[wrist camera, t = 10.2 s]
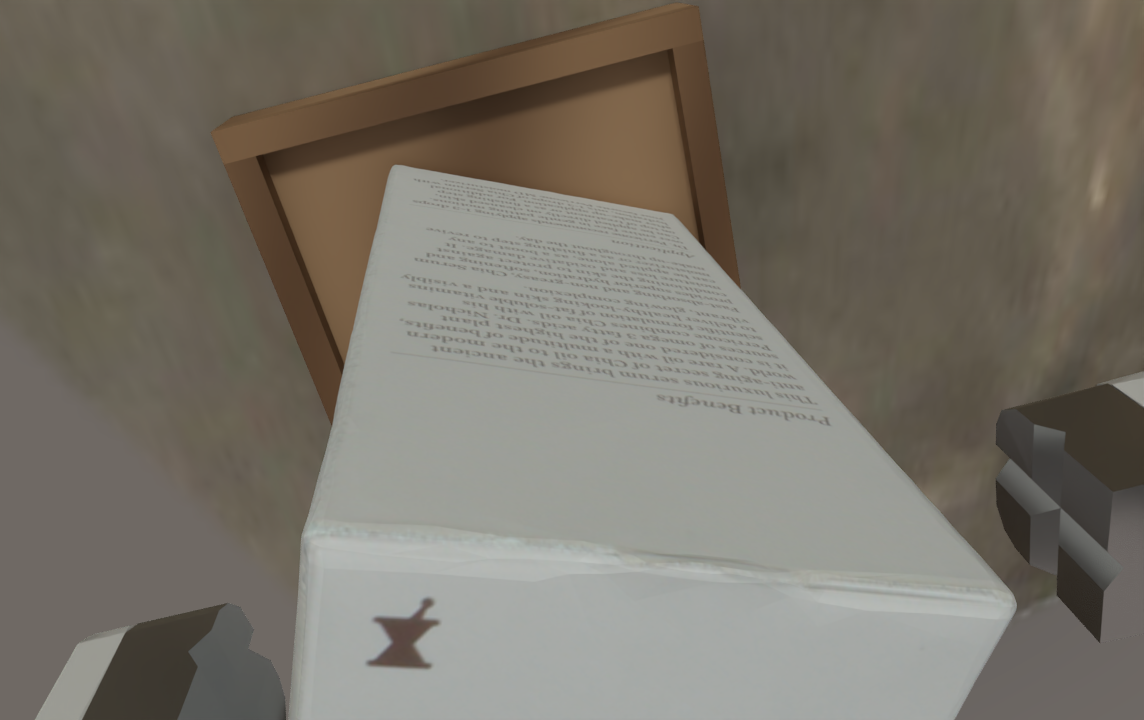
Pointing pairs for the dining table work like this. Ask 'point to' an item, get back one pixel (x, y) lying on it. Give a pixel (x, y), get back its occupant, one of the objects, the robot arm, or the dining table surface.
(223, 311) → the dining table surface
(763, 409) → the skincare box
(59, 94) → the dining table surface
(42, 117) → the dining table surface
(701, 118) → the walnut tray
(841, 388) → the dining table surface
